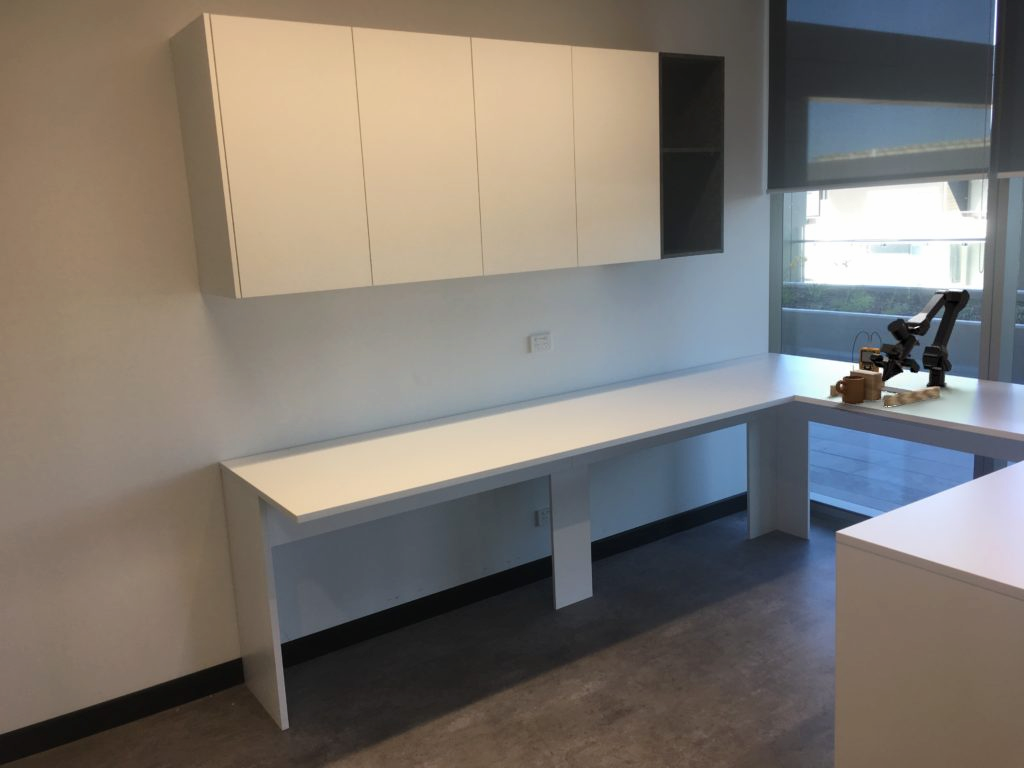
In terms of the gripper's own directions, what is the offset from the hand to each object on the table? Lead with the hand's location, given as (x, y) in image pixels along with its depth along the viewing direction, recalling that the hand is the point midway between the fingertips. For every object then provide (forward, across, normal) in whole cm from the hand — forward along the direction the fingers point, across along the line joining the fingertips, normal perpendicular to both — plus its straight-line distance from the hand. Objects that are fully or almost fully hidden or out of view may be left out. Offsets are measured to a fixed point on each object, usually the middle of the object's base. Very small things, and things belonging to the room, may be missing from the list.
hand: (883, 381), depth 311 cm
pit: (-4, 0, +12) cm, 13 cm away
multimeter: (-9, -24, +18) cm, 32 cm away
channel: (+4, 0, +5) cm, 6 cm away
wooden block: (+11, 0, -3) cm, 11 cm away
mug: (+17, 0, -9) cm, 19 cm away
